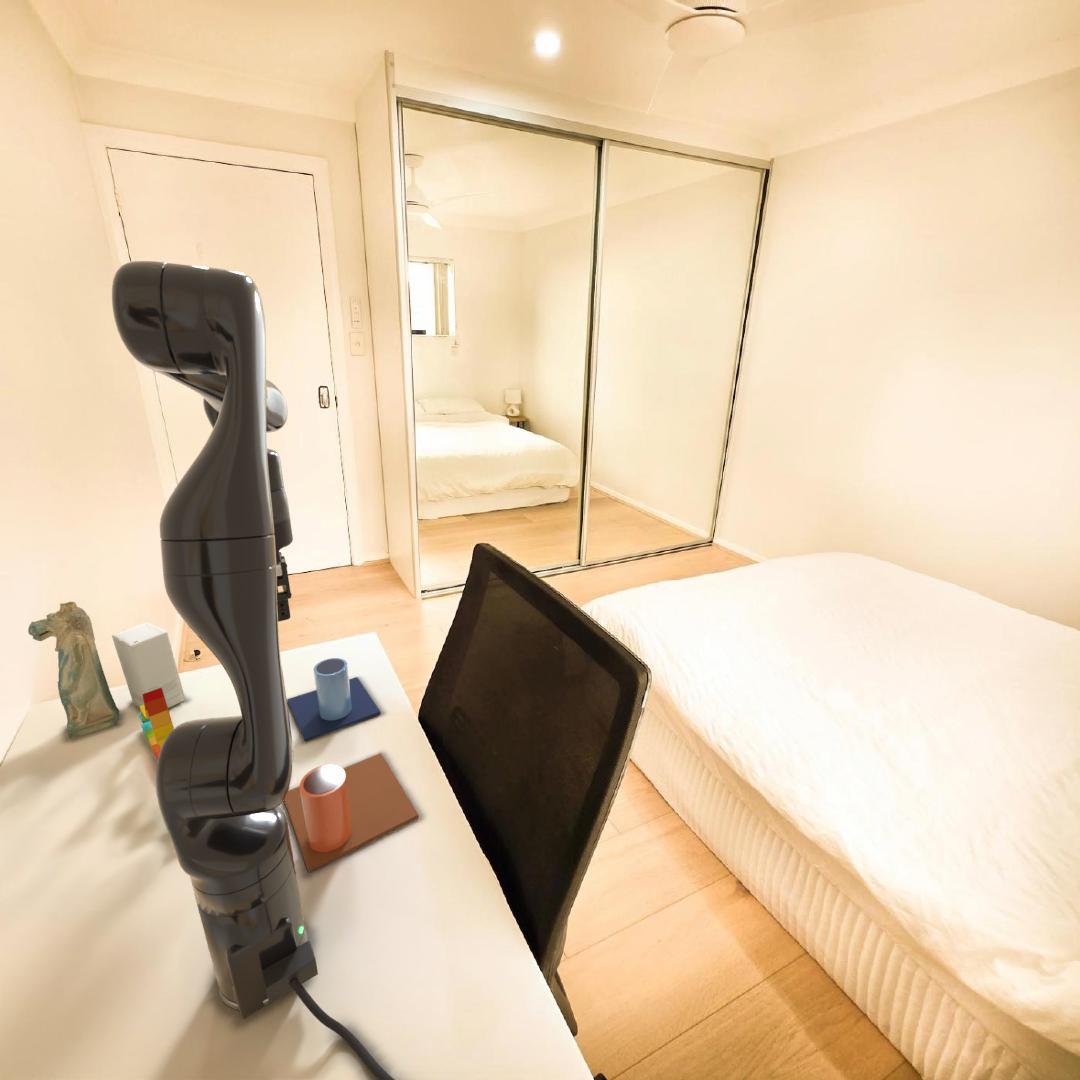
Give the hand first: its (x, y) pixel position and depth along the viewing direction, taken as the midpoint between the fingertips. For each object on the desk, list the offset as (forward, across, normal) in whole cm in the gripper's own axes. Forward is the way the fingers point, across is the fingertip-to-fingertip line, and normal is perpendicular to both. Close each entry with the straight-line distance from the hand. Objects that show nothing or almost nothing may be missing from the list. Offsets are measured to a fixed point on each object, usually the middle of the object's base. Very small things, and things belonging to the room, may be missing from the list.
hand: (277, 609), depth 88 cm
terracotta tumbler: (+26, -25, +1) cm, 36 cm away
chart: (+26, +2, +18) cm, 32 cm away
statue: (+26, +24, +30) cm, 47 cm away
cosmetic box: (+26, +26, +20) cm, 42 cm away
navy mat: (+26, +5, -8) cm, 28 cm away
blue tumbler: (+26, +3, -8) cm, 27 cm away
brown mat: (+26, -21, -3) cm, 34 cm away
